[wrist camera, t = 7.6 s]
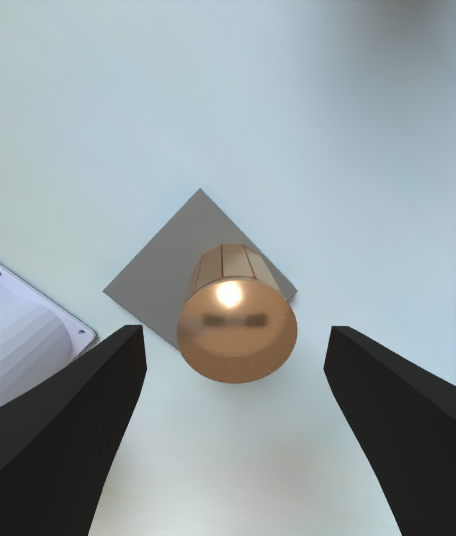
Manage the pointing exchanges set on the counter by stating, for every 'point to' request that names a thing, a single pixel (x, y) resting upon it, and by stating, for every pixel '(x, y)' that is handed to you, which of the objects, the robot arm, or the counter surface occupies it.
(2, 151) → the counter surface
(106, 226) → the counter surface
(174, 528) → the counter surface
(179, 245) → the base
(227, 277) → the copper topped wooden cylinder
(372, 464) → the robot arm
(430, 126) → the counter surface
